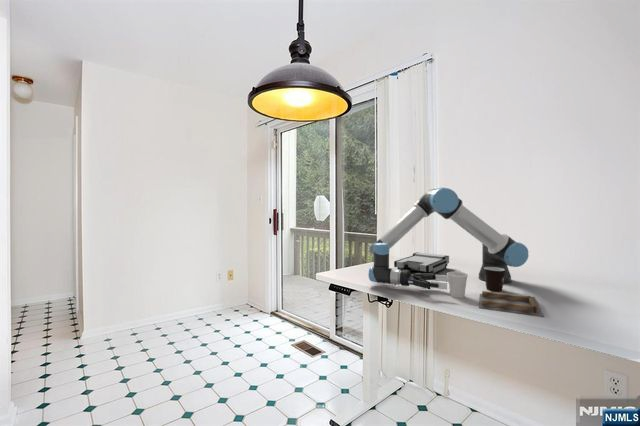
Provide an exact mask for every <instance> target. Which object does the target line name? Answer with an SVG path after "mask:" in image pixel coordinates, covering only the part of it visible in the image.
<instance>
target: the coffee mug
mask: <svg viewBox="0 0 640 426" xmlns="http://www.w3.org/2000/svg"><path fill="white" fill-rule="evenodd" d="M484 271H485V280H486V281H485V288H486V291H488V292H497V293H503V287H504V283H503V281H504V274H505V269H502V268H497V267H485V268H484Z"/></svg>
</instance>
